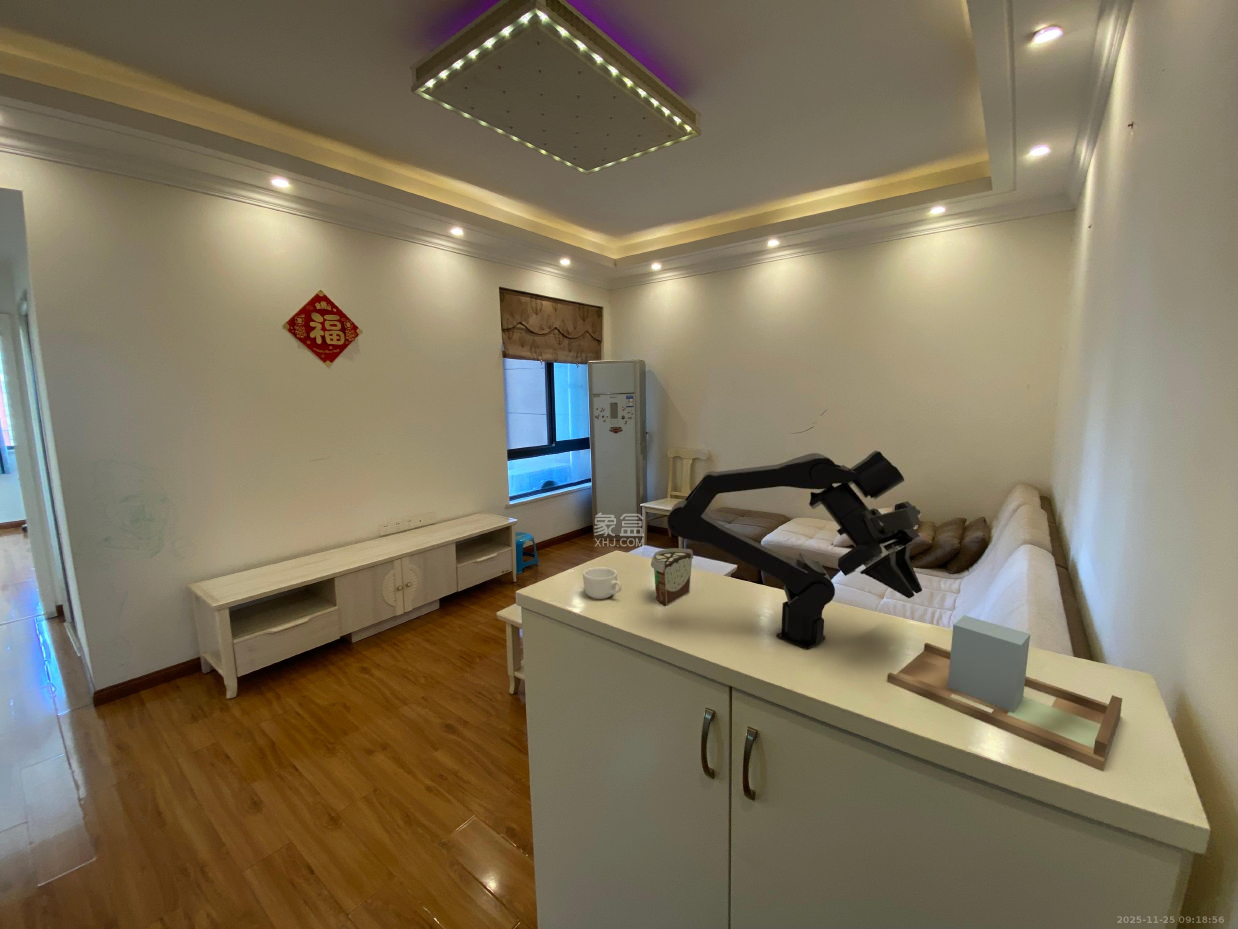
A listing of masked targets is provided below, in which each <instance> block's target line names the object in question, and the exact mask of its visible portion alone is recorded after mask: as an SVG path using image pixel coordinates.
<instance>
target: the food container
mask: <svg viewBox="0 0 1238 929" xmlns="http://www.w3.org/2000/svg"><path fill="white" fill-rule="evenodd" d="M693 559H694V553H693V549H689V548H666V549H660V550H659V551H655V552H654V554H653V556H652V558H651V562H650V566H651V568H652V569H653V572H654V573H653V575H654V586H655V587H654V588H655V599H656V602H657V601H658V602H659V603H658V602H657V603H658V604H660V605H661V604H662V605H661V606H665V607H666V606H667V607H668V606H670V605H672V604H674V603H675V602H676V600H677V601H678V600H679V601H680V600H681V599H682V598H684V597H685V595H686V596H687V595H689V594H690V591H691V590H690V588H691V575H692V564H693V561H692V560H693ZM683 596H684V597H683ZM669 604H670V605H669Z"/></svg>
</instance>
